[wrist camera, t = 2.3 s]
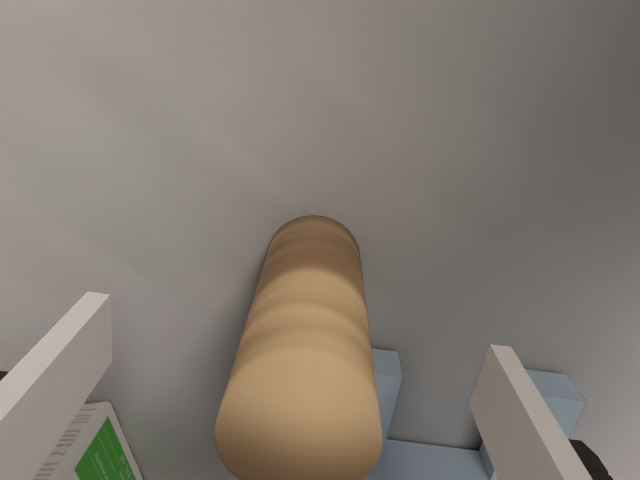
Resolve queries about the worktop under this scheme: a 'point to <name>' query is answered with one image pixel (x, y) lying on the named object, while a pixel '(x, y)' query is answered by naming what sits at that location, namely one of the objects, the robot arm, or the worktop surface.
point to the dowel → (304, 365)
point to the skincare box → (91, 449)
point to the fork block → (446, 462)
